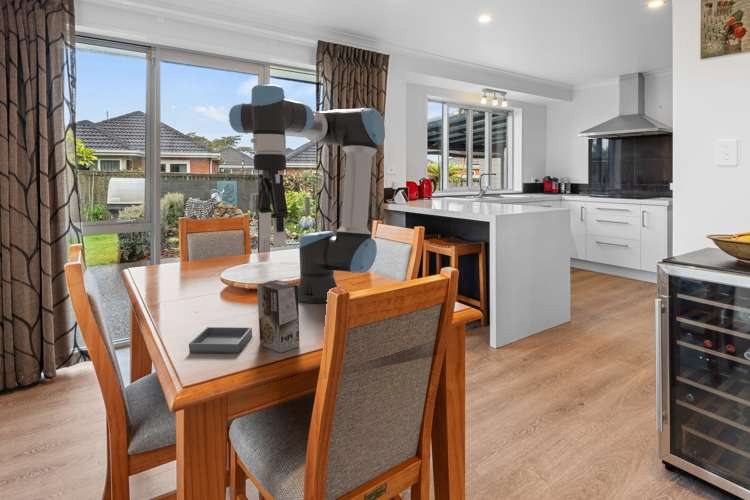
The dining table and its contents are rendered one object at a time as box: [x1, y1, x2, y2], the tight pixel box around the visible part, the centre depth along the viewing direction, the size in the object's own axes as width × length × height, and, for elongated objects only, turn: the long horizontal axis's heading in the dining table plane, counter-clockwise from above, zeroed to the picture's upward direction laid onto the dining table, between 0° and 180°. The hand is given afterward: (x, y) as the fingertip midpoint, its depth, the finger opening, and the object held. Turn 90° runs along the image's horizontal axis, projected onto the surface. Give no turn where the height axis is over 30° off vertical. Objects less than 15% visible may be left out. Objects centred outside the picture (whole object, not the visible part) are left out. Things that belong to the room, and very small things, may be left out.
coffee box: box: [256, 279, 301, 353], centre depth 116 cm, size 9×6×16 cm
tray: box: [188, 326, 253, 355], centre depth 118 cm, size 12×12×2 cm
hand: (272, 241), depth 113 cm, fingers open, 13 cm apart
